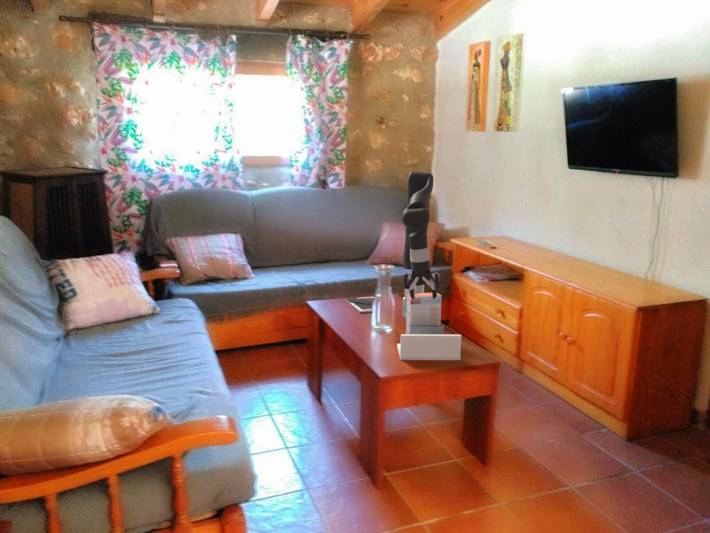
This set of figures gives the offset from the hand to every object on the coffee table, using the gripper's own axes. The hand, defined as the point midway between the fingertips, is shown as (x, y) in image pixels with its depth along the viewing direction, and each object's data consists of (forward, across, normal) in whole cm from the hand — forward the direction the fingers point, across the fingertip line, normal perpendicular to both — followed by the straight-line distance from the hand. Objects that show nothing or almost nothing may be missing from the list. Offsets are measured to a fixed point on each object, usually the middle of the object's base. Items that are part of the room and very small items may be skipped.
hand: (423, 298), depth 233 cm
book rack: (+24, +1, -1) cm, 24 cm away
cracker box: (+24, +7, -15) cm, 29 cm away
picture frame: (+21, +45, -52) cm, 72 cm away
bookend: (+22, +3, -6) cm, 23 cm away
